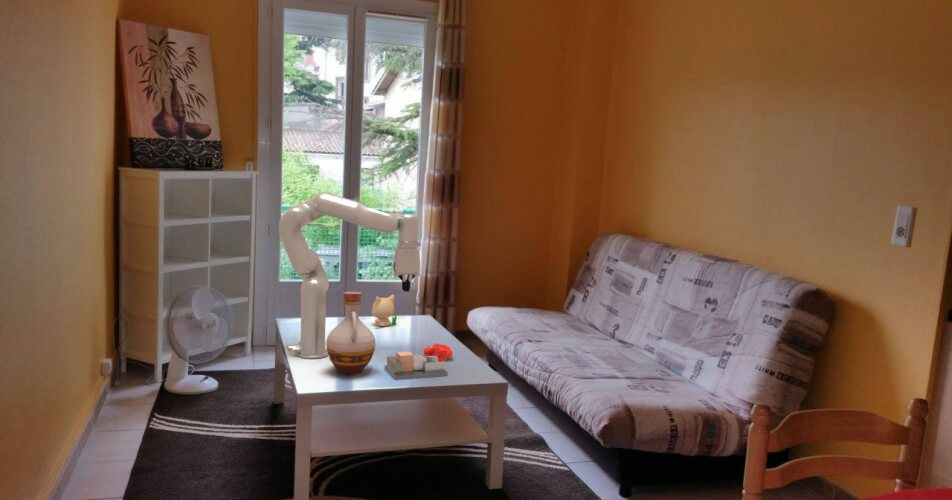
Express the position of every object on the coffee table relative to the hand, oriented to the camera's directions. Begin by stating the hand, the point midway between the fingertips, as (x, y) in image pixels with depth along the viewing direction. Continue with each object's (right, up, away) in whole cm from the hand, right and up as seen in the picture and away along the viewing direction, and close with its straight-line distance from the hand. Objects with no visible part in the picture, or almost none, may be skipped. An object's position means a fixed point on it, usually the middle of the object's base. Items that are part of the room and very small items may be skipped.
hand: (405, 291), depth 283 cm
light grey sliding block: (+6, -28, -17) cm, 33 cm away
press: (+5, -30, -17) cm, 34 cm away
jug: (-18, -29, -21) cm, 40 cm away
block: (+1, -28, -19) cm, 34 cm away
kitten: (-16, -20, +56) cm, 62 cm away
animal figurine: (+12, -28, +7) cm, 31 cm away
